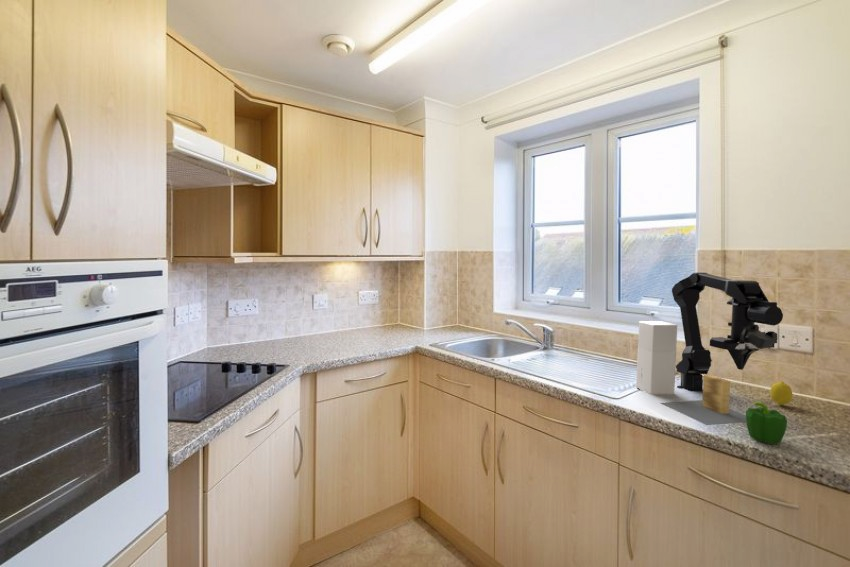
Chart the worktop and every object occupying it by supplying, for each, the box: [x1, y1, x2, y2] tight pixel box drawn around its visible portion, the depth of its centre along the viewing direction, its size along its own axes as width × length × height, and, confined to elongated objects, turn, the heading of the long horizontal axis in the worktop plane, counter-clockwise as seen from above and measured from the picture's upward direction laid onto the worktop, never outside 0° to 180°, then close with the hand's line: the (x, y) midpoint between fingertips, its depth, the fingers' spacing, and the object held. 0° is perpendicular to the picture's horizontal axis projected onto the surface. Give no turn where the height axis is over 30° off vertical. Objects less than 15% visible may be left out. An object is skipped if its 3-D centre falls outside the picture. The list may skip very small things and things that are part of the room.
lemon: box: [769, 381, 793, 406], centre depth 135 cm, size 6×6×8 cm
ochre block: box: [702, 374, 731, 414], centre depth 129 cm, size 7×2×10 cm, turn 10°
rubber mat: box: [660, 399, 746, 426], centre depth 127 cm, size 18×18×1 cm
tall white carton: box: [635, 320, 678, 395], centre depth 147 cm, size 9×9×25 cm
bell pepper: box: [745, 401, 788, 445], centre depth 108 cm, size 8×8×10 cm
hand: (740, 369), depth 130 cm, fingers closed
